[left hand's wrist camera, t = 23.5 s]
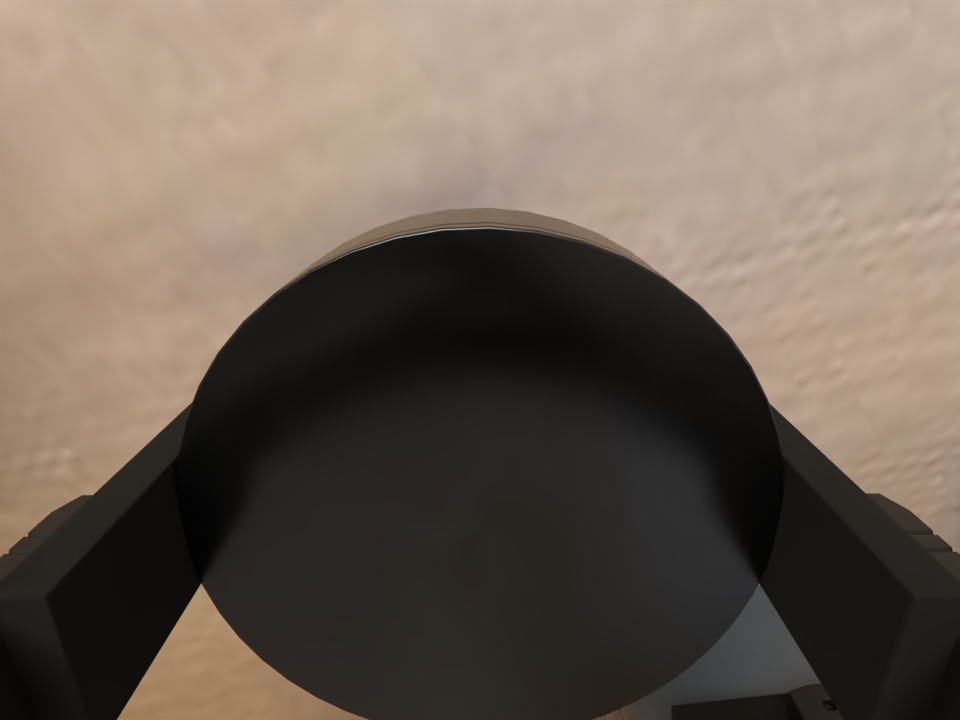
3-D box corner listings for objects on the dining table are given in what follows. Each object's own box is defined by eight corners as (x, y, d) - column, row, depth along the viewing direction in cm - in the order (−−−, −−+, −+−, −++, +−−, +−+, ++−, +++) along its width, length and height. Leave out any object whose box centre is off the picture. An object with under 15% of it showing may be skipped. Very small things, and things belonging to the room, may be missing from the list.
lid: (121, 369, 12) (41, 422, 10) (606, 92, 10) (640, 81, 8) (397, 704, 15) (383, 798, 13) (797, 543, 13) (857, 622, 11)
